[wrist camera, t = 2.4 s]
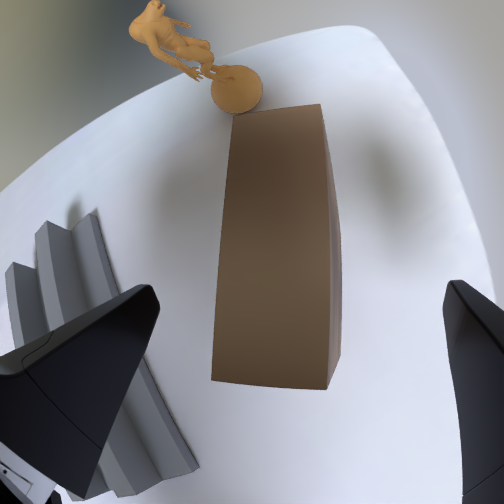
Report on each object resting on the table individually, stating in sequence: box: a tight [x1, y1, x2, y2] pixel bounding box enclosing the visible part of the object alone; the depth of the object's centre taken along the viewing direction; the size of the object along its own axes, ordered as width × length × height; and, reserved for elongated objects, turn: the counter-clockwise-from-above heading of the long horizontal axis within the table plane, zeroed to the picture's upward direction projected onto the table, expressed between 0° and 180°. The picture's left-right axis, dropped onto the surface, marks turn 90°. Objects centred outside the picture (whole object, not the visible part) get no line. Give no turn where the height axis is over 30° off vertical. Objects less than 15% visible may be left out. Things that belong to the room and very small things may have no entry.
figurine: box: [129, 0, 263, 113], centre depth 17 cm, size 8×6×12 cm
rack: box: [5, 213, 199, 501], centre depth 19 cm, size 22×14×4 cm, turn 30°
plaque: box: [211, 104, 342, 390], centre depth 12 cm, size 7×2×11 cm, turn 177°
